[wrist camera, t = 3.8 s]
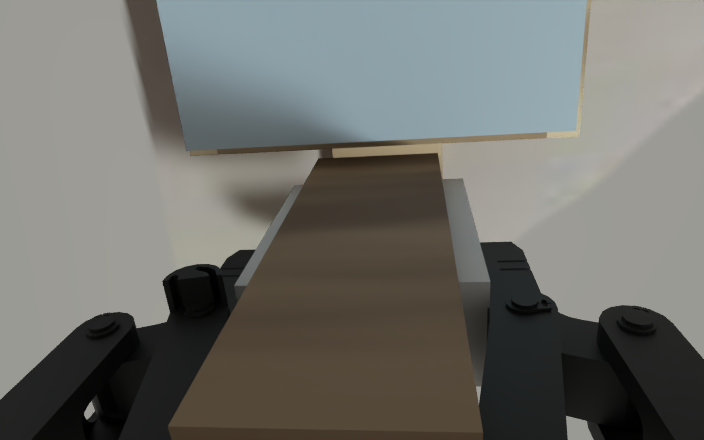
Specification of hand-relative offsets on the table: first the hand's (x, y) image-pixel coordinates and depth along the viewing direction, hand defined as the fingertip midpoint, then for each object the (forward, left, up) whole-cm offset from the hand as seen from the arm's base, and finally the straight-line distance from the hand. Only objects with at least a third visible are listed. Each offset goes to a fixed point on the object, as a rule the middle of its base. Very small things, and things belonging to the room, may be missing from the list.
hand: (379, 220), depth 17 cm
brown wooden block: (0, 0, -1) cm, 1 cm away
